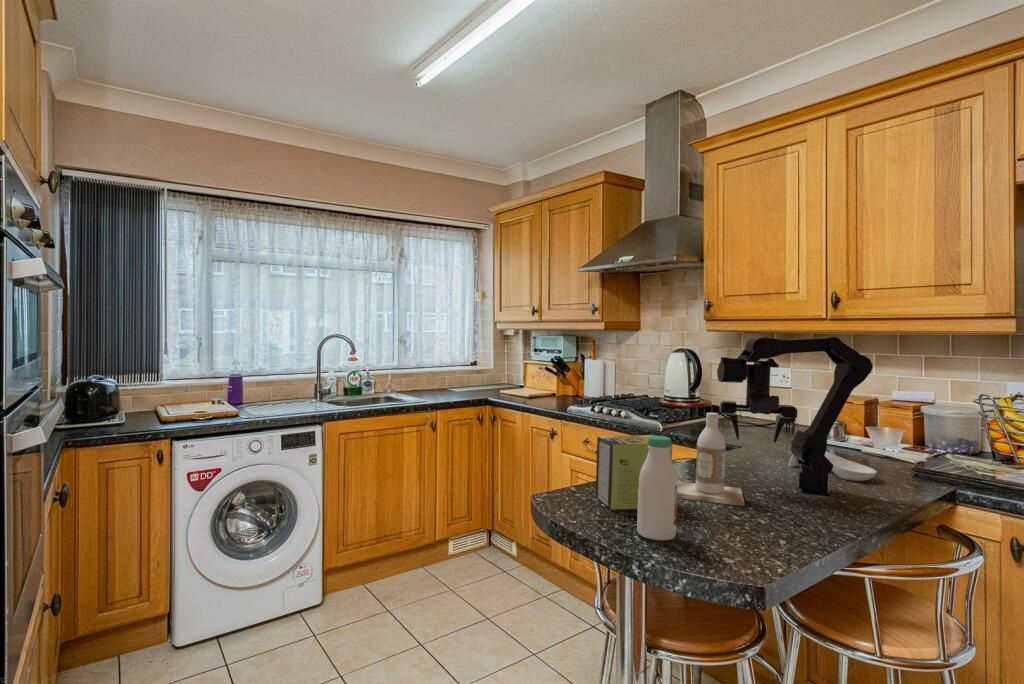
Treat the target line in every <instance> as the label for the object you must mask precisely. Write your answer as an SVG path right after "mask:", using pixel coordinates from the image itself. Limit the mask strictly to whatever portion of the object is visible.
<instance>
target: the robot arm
mask: <svg viewBox="0 0 1024 684" xmlns="http://www.w3.org/2000/svg"><path fill="white" fill-rule="evenodd" d="M819 352H822V353H823V352H824V353H825V354H826V356H828V358H829V360H830V361H832V362H833V363H834V364H835V367H834V371H833V374H834V375H833V383H832V384H831V387H830V388H829V390H828V392H827V394H826V396H825V398H824V400H823V402H822V403H821V405H820V407H819V409H818V411H817V412H816V414H815V416H814V418H813V419H812V421H811V423H810V425H809V427H808V428H807V429H806V430H805V431H801V430H799V429H798V430H797V431H796V433H795V436H794V438H793V439H792V440H791V441H790V444H791V446H790V451H791V454H792V455H793V456H794V457H795V458H796V459H797V462H798V464H797V465H800V466H799V471H797V476H796V477H797V480H796V483H797V487H798V489H799V490H800V491H801V493H807V494H814V495H815V494H816V495H825V496H829V495H830V492H829V489H828V487H829V473H832V472H833V471H832V469H833V466H834V465H833V464H832V463H831V462H830V461H829V460H828V459H827V458H826V457H825V456H824V455H825V452H826V451H827V449H828V437H829V434H830V432H831V430H832V429H833V426H834V425H835V423H836V421H837V419H838V417H839V415H840V414H841V412H842V410H843V408H844V406H845V405H846V403H847V402H848V399H849V398H850V396H851V395H852V392H853V390H854V389H856V387H858V386H859V385H860V384H862V383H863V382H864V381H865V380H866V379H867V378H868V377H869V375H870V374H871V372H872V371H873V367H874V365H873V364H872V361H871V359H870V358H869V357H868V356H866V355H862V354H861V353H859V352H858V351H857V350H855V349H854V348H852V347H850V346H848V345H847V344H846V343H844V342H843V341H842V340H841V339H840V338H839V337H836V336H824V337H816V338H814V337H813V338H812V337H811V338H798V339H797V338H794V339H792V338H791V339H779V338H774V337H773V338H772V337H761V336H758V337H757V336H755V337H751V338H749V339H748V340H747V342H746V343H745V348H744V349H743V351H742V352H741V353H740V354H739V355H738V357H737V358H736V357H735V358H733V357H732V358H731V357H727V356H726V357H725V356H724V357H723V356H722V357H720V362H719V363H718V365H717V368H716V373H717V375H716V376H717V381H718V382H719V383H738V384H741V383H743V382H744V381H745V380H746V395H745V396H746V398H745V399H746V400H745V404H737V401H731V400H722V401H721V402H720V403H719V412H720V413H721V414H722V413H723V414H724V415H725V416H726V417H729V418H730V421H731V424H732V426H733V430H734V433H735V438H736V440H738V441H739V439H740V433H739V432H740V431H739V421H738V414H737V412H743V413H744V412H746V413H751V414H754V415H756V414H764V415H770V414H772V415H773V414H775V415H776V416H775V423H774V432H773V443H774V444H776V443H777V440H778V439H779V437H780V434H781V431H782V429H783V427H784V426H785V424H786V423H787V422H789V421H790V422H792V419H797V418H798V409H797V408H796V407H795V406H794V405H790V404H780V396H779V395H771V394H770V392H771V391H770V390H771V389H770V388H771V369H772V368H780V365H779V364H778V363H777V362H776V361H775V360H774V358H775V357H779V356H782V355H785V354H801V353H819ZM761 359H762V360H761ZM763 359H764V360H763ZM750 363H751V364H750Z"/></svg>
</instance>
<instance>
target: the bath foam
mask: <svg viewBox="0 0 1024 684" xmlns="http://www.w3.org/2000/svg"><path fill="white" fill-rule="evenodd" d="M705 417H706V418H705V427H704V429H703V430H702V431H701V433H700V434H699V436H698V438H697V443H696V457H695V458H696V461H695V464H696V465H695V483H696V489H697V490H698V491H701V492H704V493H709V494H720V493H722V492H724V486H725V477H726V476H725V475H726V453H727V451H726V450H727V449H726V448H727V447H726V440H725V437H724V435H723V434H722V432H721V431H720V429H719V413H717V412H706V416H705Z"/></svg>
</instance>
